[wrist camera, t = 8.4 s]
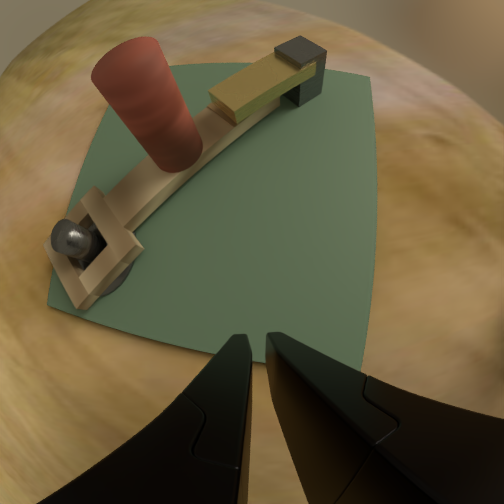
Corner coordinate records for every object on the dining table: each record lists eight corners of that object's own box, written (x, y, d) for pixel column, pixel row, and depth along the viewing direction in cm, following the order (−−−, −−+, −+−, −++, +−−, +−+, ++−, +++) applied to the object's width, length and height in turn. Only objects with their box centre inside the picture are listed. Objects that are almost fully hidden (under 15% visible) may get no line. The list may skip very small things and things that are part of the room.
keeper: (297, 81, 20) (299, 35, 15) (321, 98, 20) (328, 51, 15) (221, 131, 20) (206, 85, 15) (243, 152, 19) (232, 106, 14)
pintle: (130, 306, 18) (89, 302, 13) (63, 287, 18) (20, 279, 14) (150, 212, 19) (117, 185, 14) (82, 207, 20) (45, 184, 15)
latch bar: (87, 309, 17) (-26, 294, 8) (53, 248, 18) (-42, 209, 9) (296, 116, 18) (298, 2, 9) (239, 78, 19) (218, -21, 10)
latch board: (357, 371, 15) (360, 373, 15) (51, 305, 18) (46, 304, 18) (368, 81, 20) (369, 76, 19) (129, 75, 23) (127, 71, 22)
